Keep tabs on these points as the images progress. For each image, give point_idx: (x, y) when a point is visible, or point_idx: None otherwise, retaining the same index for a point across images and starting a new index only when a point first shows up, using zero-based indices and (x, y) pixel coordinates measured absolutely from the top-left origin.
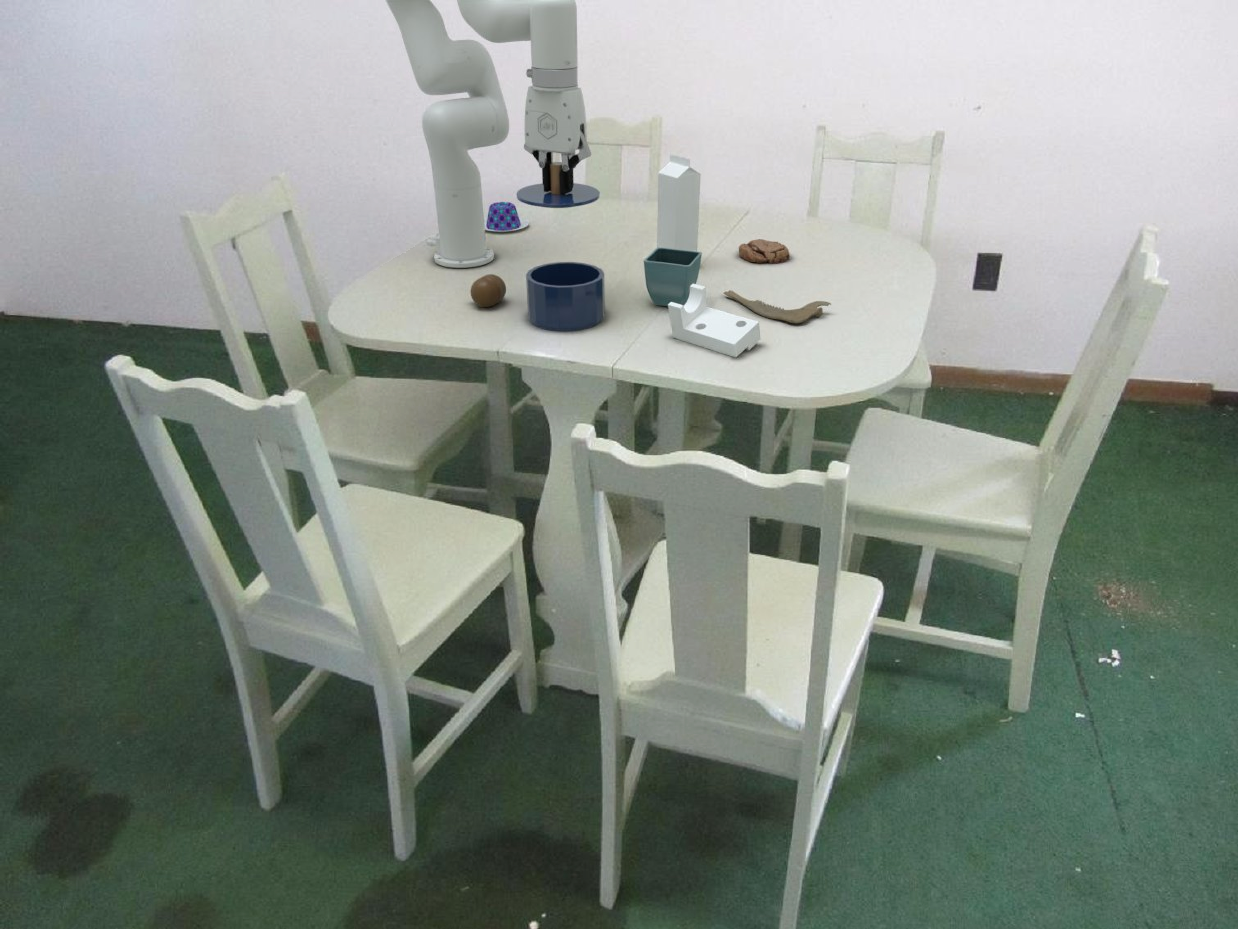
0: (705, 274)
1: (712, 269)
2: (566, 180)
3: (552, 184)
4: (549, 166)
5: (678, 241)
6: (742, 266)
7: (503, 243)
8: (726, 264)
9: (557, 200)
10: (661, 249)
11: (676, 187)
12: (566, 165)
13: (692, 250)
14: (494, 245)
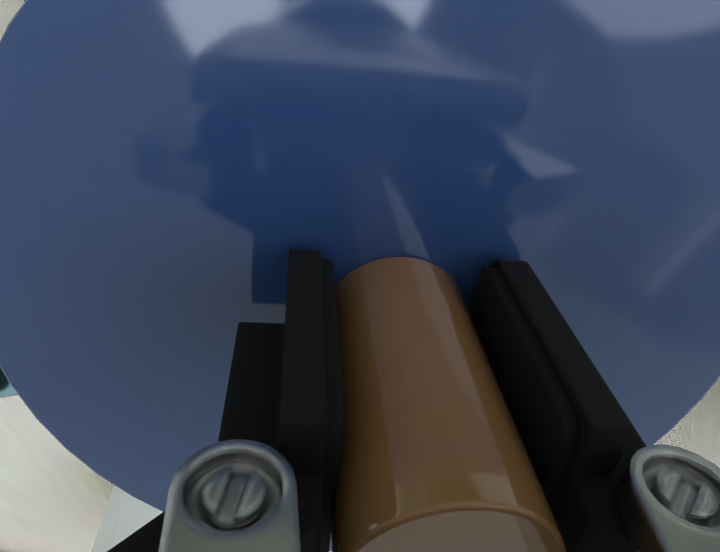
0: (55, 455)
1: (63, 488)
2: (264, 374)
3: (442, 313)
4: (563, 517)
5: (113, 523)
6: (7, 528)
7: (695, 443)
8: (54, 525)
9: (260, 56)
10: (2, 386)
11: None
12: (198, 525)
13: (104, 521)
14: (717, 424)
